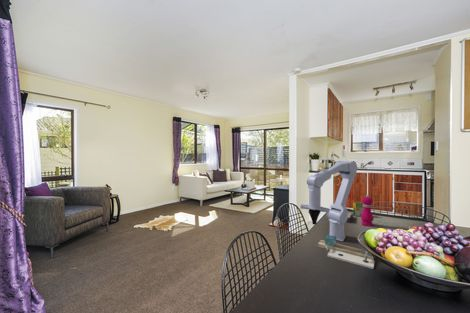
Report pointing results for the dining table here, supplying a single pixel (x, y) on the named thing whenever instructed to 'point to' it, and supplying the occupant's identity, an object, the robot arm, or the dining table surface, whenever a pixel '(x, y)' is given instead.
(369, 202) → the pepper mill
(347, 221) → the calculator
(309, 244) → the dining table surface
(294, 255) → the dining table surface
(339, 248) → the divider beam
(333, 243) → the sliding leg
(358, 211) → the crayon box
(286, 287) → the dining table surface
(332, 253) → the bolt plate
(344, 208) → the robot arm
